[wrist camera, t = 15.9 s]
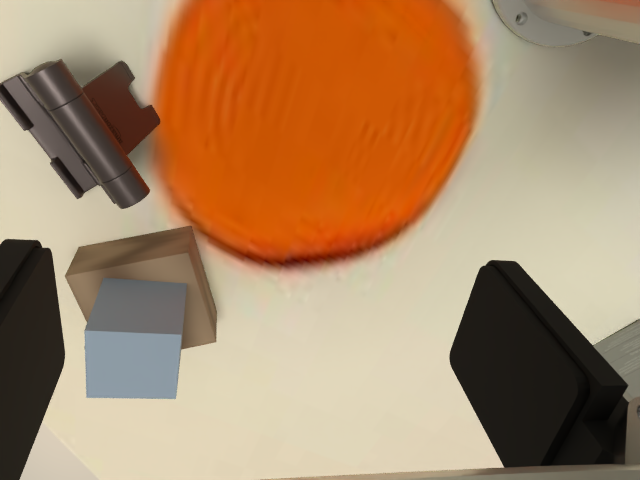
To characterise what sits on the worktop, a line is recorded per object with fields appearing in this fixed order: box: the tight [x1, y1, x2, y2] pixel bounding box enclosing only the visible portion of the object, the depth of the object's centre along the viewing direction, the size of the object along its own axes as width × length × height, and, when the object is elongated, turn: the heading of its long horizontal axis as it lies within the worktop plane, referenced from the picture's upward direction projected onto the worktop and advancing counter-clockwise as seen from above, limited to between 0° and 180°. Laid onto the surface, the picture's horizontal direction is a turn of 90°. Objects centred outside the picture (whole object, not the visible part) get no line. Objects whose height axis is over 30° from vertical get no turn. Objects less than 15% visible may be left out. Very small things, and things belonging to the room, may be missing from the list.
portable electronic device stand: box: [0, 59, 160, 209], centre depth 32 cm, size 9×8×8 cm
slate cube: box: [85, 278, 187, 399], centre depth 37 cm, size 6×6×6 cm
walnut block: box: [65, 226, 217, 349], centre depth 41 cm, size 9×9×4 cm
